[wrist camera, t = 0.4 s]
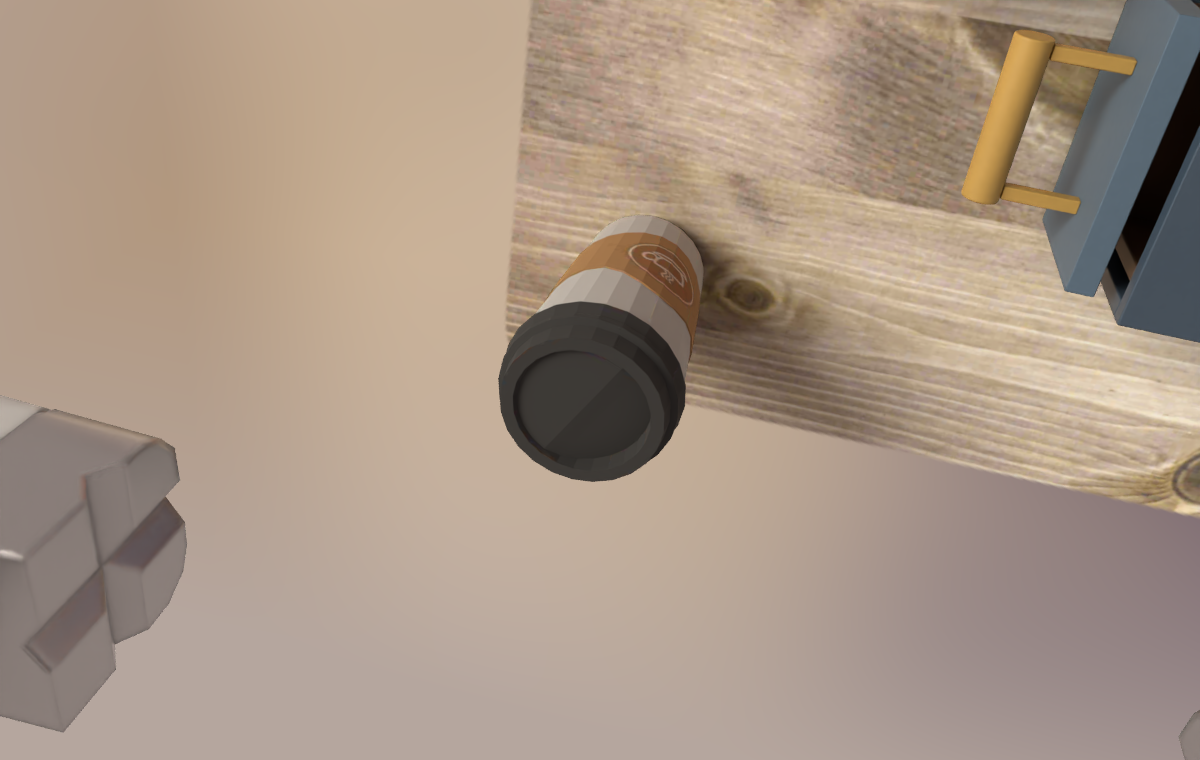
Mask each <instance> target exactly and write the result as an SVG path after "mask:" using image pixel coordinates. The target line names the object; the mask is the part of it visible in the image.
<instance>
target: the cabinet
mask: <svg viewBox="0 0 1200 760" xmlns="http://www.w3.org/2000/svg"><path fill="white" fill-rule="evenodd" d="M1191 1H1192V2H1193V3H1200V0H1191ZM1101 284H1102V286H1103V289H1104V292H1105V294H1106V297H1107V299H1108V302H1109V305H1110V307H1111V310H1112V312H1113V315H1114V317H1115V320H1116V322H1117V324H1118V325H1120V326H1125V327H1130V328H1134V329H1139V330H1144V331H1148V332H1153V333H1158V334H1162V335H1167V336H1171V337H1176V338H1181V339H1185V340H1190V341H1195V342H1199V343H1200V126H1199V128H1198V131H1197V133H1196V135H1195V137H1194V140H1193V142H1192V144H1191V146H1190V148H1189V151H1188V153H1187V155H1186V157H1185V160H1184V162H1183V164H1182V166H1181V169H1180V171H1179V173H1178V175H1177V177H1176V180H1175V182H1174V184H1173V186H1172V189H1171V191H1170V193H1169V195H1168V197H1167V200H1166V202H1165V204H1164V206H1163V209H1162V211H1161V213H1160V215H1159V218H1158V220H1157V222H1156V224H1155V226H1154V229H1153V231H1152V233H1151V235H1150V238H1149V240H1148V242H1147V244H1146V247H1145V249H1144V251H1143V253H1142V255H1141V258H1140V260H1139V262H1138V264H1137V267H1136V269H1135V271H1134V273H1133V275H1132V278H1131V280H1129V278H1128V276H1127V273H1126V271H1125V269H1124V266H1123V264H1122V262H1121V260H1120V257H1119V255H1118V253H1117V250H1116V248H1115V249H1114V251H1113V253H1112V256H1111V258H1110V260H1109V263H1108V265H1107V267H1106V270H1105V272H1104V274H1103V277H1102V279H1101Z"/></svg>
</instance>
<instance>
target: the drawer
mask: <svg viewBox="0 0 1200 760" xmlns="http://www.w3.org/2000/svg"><path fill="white" fill-rule="evenodd" d="M1049 58H1050V60H1051V61H1055V62H1061V63H1066V64H1072V65H1077V66H1082V67H1088V68H1093V69H1098V70H1100V71H1099V74H1098V76H1097V79H1096V82H1095V84H1094V87H1093V89H1092V92H1091V95H1090V97H1089V100H1088V102H1087V105H1086V108H1085V110H1084V113H1083V115H1082V118H1081V121H1080V123H1079V126H1078V128H1077V131H1076V134H1075V136H1074V139H1073V141H1072V144H1071V147H1070V149H1069V152H1068V154H1067V157H1066V160H1065V162H1064V165H1063V167H1062V170H1061V173H1060V175H1059V178H1058V180H1057V183H1056V186H1055V188H1054V191H1053V192H1051V191H1046V190H1041V189H1036V188H1031V187H1026V186H1021V185H1016V184H1011V183H1006V179H1007V176H1008V173H1009V170H1010V168H1011V165H1012V162H1013V159H1014V156H1015V153H1016V151H1017V148H1018V145H1019V142H1020V139H1021V137H1022V134H1023V131H1024V128H1025V125H1026V123H1027V120H1028V117H1029V114H1030V111H1031V109H1032V106H1033V103H1034V100H1035V97H1036V95H1037V92H1038V89H1039V86H1040V83H1041V81H1042V78H1043V75H1044V72H1045V69H1046V67H1047V64H1048V61H1049ZM1199 126H1200V3H1193V2H1192V1H1191V0H1127V1H1126V4H1125V6H1124V9H1123V11H1122V14H1121V17H1120V19H1119V22H1118V24H1117V27H1116V30H1115V32H1114V35H1113V37H1112V40H1111V43H1110V45H1109V48H1108V50H1107V52H1102V51H1096V50H1091V49H1085V48H1080V47H1075V46H1069V45H1064V44H1058V43H1055V39H1054V38H1053V37H1051V36H1049V35H1047V34H1044V33H1040V32H1036V31H1030V30H1017V31H1015V33H1014V35H1013V38H1012V41H1011V44H1010V47H1009V50H1008V53H1007V56H1006V59H1005V62H1004V65H1003V68H1002V71H1001V74H1000V77H999V80H998V83H997V86H996V89H995V92H994V95H993V98H992V101H991V104H990V107H989V110H988V113H987V116H986V119H985V122H984V125H983V128H982V131H981V134H980V137H979V140H978V143H977V146H976V149H975V152H974V155H973V158H972V161H971V164H970V167H969V170H968V173H967V176H966V179H965V182H964V185H963V188H962V195H963V196H964V197H965V198H967V199H969V200H971V201H973V202H976V203H980V204H996V203H997V202H998V201H999V198H1001V199H1002V200H1007V201H1012V202H1017V203H1022V204H1027V205H1032V206H1036V207H1041V208H1046V212H1045V214H1044V217H1043V223H1044V226H1045V230H1046V233H1047V236H1048V239H1049V242H1050V245H1051V249H1052V252H1053V255H1054V258H1055V261H1056V264H1057V268H1058V271H1059V274H1060V277H1061V280H1062V284H1063V287H1064V290H1065V291H1067V292H1071V293H1076V294H1081V295H1085V296H1090V297H1094V295H1095V293H1096V291H1097V288H1098V286H1099V284H1100V281H1101V279H1102V277H1103V274H1104V272H1105V270H1106V267H1107V265H1108V263H1109V260H1110V258H1111V256H1112V253H1113V251H1114V249H1115V248H1116V250H1117V253H1118V255H1119V257H1120V260H1121V262H1122V264H1123V266H1124V269H1125V271H1126V273H1127V276H1128V278H1129V280H1131V278H1132V275H1133V273H1134V271H1135V269H1136V267H1137V264H1138V262H1139V260H1140V258H1141V255H1142V253H1143V251H1144V249H1145V247H1146V244H1147V242H1148V240H1149V238H1150V235H1151V233H1152V231H1153V229H1154V226H1155V224H1156V222H1157V220H1158V218H1159V215H1160V213H1161V211H1162V209H1163V206H1164V204H1165V202H1166V200H1167V197H1168V195H1169V193H1170V191H1171V189H1172V186H1173V184H1174V182H1175V180H1176V177H1177V175H1178V173H1179V171H1180V169H1181V166H1182V164H1183V162H1184V160H1185V157H1186V155H1187V153H1188V151H1189V148H1190V146H1191V144H1192V142H1193V140H1194V137H1195V135H1196V133H1197V131H1198V128H1199Z"/></svg>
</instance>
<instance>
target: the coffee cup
mask: <svg viewBox="0 0 1200 760" xmlns="http://www.w3.org/2000/svg"><path fill="white" fill-rule="evenodd" d="M703 270H704V268H703V264H702V260H701V256H700V253H699V251H698V250H697V248H696V246H695V244H694V242H693V241H692V240H691V239H690V238H689V237H688V236H687V235H686V234H685V233H684V232H683V230H681V229H680V228H678V227H677V226H675V225H674V224H672V223H671V222H669V221H666V220H664V219H661V218H658V217H655V216H647V215H634V216H628V217H622V218H620V219H618V220H616V221H614V222H612V223H610V224H608V225H607V226H606V227H605V228H604V229H603V230H601V231H600V232H599V233H598V234H597V236H596V237H595V238H594V240H593V241H592V242H591V243H590V245H589V246H588V247H587V248H586V249H585V250H584V251H583V252H582V253H580V255H579V256H578V257H577V259H576V260H575V261H574V262H573V264H572V265H571V266H570V267H569V269H568V270H567V271H566V272H565V274H564V275H563V276H562V277H561V279H560V280H559V281H558V283H557V284H556V285H555V286H554V288H553V289H552V291H551V292H550V294H549V295H548V297H547V299H546V300H545V302H544V304H543V305H542V306H541V307H540V309H539V310H538V311H537V313H536V314H534V315H533V316H532V317H531V318H530V319H529V320H527V321H526V322H525V323H524V324H523V325H521V326H520V327H519V328H518V330H517V332H516V333H515V335H514V337H513V338H512V340H511V341H510V343H509V345H508V348H507V352H506V354H505V356H504V358H503V362H502V366H501V370H500V374H499V378H498V379H499V395H500V402H501V403H500V405H501V413H502V416H503V419H504V422H505V425H506V427H507V430H508V432H509V433H510V435H511V436H512V438H513V439H514V441H515V442H516V443H517V445H518V446H519V447H520V448H521V449H522V450H523V451H524V452H525V453H526V454H527V455H528V456H529V457H530V458H531V459H532V460H534V461H535V462H536V463H538V464H540V465H542V466H543V467H545V468H546V469H548V470H550V471H551V472H554V473H556V474H559V475H562V476H565V477H568V478H571V479H576V480H583V481H591V482H595V481H607V480H614V479H617V478H620V477H622V476H626V475H629V474H631V473H633V472H634V471H636V470H637V469H638V468H640V467H641V466H643V465H644V464H646V463H647V462H648V461H649V460H651V459H652V458H654V457H655V456H657V455H658V454H659V452H660V451H661V450H662V449H663V448H664V446H665V445H666V444H667V443H668V441H669V440H670V439H671V437H672V434H673V432H674V430H675V428H676V427H677V426H678V423H679V421H680V418H681V415H682V412H683V410H684V407H685V389H686V385H685V377H686V372H687V366H688V362H689V360H690V357H691V354H692V348H693V343H694V337H695V332H696V326H697V320H698V315H699V306H700V296H701V290H702V285H703Z"/></svg>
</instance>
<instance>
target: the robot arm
mask: <svg viewBox="0 0 1200 760" xmlns="http://www.w3.org/2000/svg"><path fill="white" fill-rule="evenodd" d="M179 480H180V478H179V472H178V466H177V460H176V453H175V448H174V447H172V446H171V445H169V444H168V443H166V442H165V441H163V440H162V439H160V438H156V437H153V436H149V435H146V434H142V433H139V432H135V431H131V430H128V429H124V428H121V427H117V426H113V425H110V424H106V423H102V422H99V421H95V420H92V419H88V418H84V417H81V416H77V415H74V414H70V413H67V412H63V411H59V410H56V409H54V410H50V409H47V408H43V407H40V406H37V405H33V404H30V403H26V402H22V401H19V400H16V399H12V398H9V397H5V396H2V395H0V716H2V717H6V718H10V719H14V720H18V721H21V722H25V723H29V724H33V725H36V726H40V727H44V728H48V729H52V730H56V731H60V732H64V731H65V730H66V729H67V727H68V726H69V725H70V724H71V723H72V721H73V720H74V719H75V718H76V717H77V715H78V714H79V713H80V711H82V709H83V708H84V707H85V706H86V705H87V703H88V702H89V701H90V700H91V698H92V697H93V696H94V695H95V694H96V693H97V691H98V690H99V689H100V688H101V687H102V685H103V684H104V683H105V682H106V680H107V679H108V678H109V677H110V676H111V674H112V673H113V672H114V671H115V670H116V659H115V644H117V643H119V642H121V641H123V640H125V639H128V638H130V637H132V636H135V635H137V634H139V633H141V632H143V631H145V630H148V629H149V628H150V627H151V626H152V624H153V623H154V622H155V621H156V619H157V618H158V617H159V615H160V614H161V613H162V612H163V610H164V609H165V608H166V607H167V605H168V604H169V602H170V600H171V598H172V595H173V593H174V591H175V588H176V586H177V584H178V581H179V579H180V577H181V575H182V572H183V568H184V561H185V554H186V547H187V541H186V530H185V522H184V521H183V519H182V518H181V516H180V515H179V514H178V513H177V511H176V510H175V509H174V507H173V506H172V505H171V503H170V502H169V501H168V499H167V498H166V497H165V496H166V495H167V494H168V493H169V492H170V491H171V489H172V488H173V487H174V486H175V485H176V484H177V483H178V482H179ZM1179 741H1180V744H1181V748H1182V751H1183V755H1184V758H1185V760H1200V710H1199V711H1197V712H1196V713H1194V714H1193V716H1192V717H1191V719H1190V720H1189V722H1188V723H1187V725H1186V726H1185V728H1184V729H1183V731H1182V732H1181V734H1180V735H1179Z"/></svg>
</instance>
